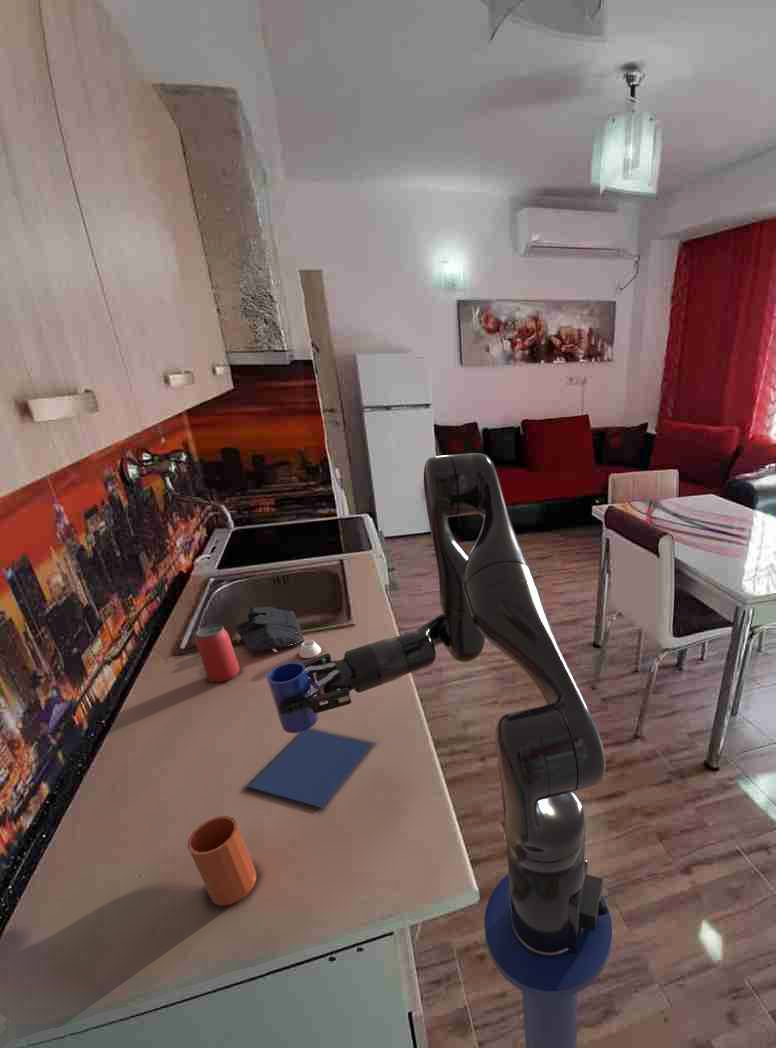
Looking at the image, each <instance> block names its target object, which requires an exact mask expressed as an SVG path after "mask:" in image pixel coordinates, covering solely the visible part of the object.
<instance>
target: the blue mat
mask: <svg viewBox="0 0 776 1048" xmlns="http://www.w3.org/2000/svg"><path fill="white" fill-rule="evenodd" d="M372 746H373V743H371V742H367V741H362V740H358V739H353V738H348V737H344V736H340V735H336V734H331V733H326V732H321V731H318V730H313V729H310V728H309V729H307V730H305V731H303V732H300V734H299V735H297V737H296V738H295V739H294V740H293V741H292V742H291V743H290V744H289V745H288V746H287V747H286V748H285V749H284V750H283V751H282V752H281V753H279V755H278V756H277V757H275V759H274V760H273V761H272V762H270V763H269V765H268V766H267V767H266V768H265V769H264V770H262V771H261V773H260V774H258V775H257V776H256V777H255V779H254V780H253V781H251V783H249V784H248V786H247V788H248V789H252V790H255V791H258V792H262V793H266V794H268V795H272V796H276V797H279V798H283V799H287V800H290V801H293V802H297V803H301V804H304V805H308V806H311V807H315V808H318V809H322V808H323V807H324V806H325V804H326V803H327V802H328V801H329V800H330V798H331V797H332V795H334V793H335V792H336V791H337V789H338V788H339V787H340V786H341V784H343V782H344V780H345V779H347V777H348V776H349V774H350V773H351V772H352V771H353V770H354V768H355V767H356V766H357V764H358V763H359V762H360V761H361V760H362V758H363V757H364V756H365V755H366V753H368V751H369V749H370V748H371V747H372Z"/></svg>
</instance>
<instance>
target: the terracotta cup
mask: <svg viewBox="0 0 776 1048" xmlns="http://www.w3.org/2000/svg"><path fill="white" fill-rule="evenodd" d="M186 847H187V850H188V852H189V854H190V857H191V859H192V861H193V863H194V865H195V868H196V869H197V872H198V874H199V876H200V878H201V881H202V883H203V885H204V887H205V889H206V891H207V893H208V895H209V898H210V899H211V901H212V903H214V904H215V905H217V906H229V905H233V904H235V903H237V902H239V901H241V900H242V899H243V898H245V897H246V896H247V895H248V894H249V893H250V892H251V891H252V889H253V888H254V886H255V884H256V881H257V871H256V867H255V865H254V863H253V860H252V858H251V855H250V852H249V850H248V847H247V845H246V842H245V839H244V837H243V834H242V832H241V828H240V827H239V823H238V822H237V821H236V819H235V818H234V817H232V816H228V815H222V816H216V817H213V818H210V819H207V820H206V821H205V822H203V823H202V824H200V825H199V826H198V827H197V828H195V830H193V832H192V833H191V834H190V836H189V838H188V840H187V846H186Z"/></svg>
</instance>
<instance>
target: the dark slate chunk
mask: <svg viewBox="0 0 776 1048" xmlns="http://www.w3.org/2000/svg"><path fill="white" fill-rule="evenodd" d="M248 611H249V612H248V613H247V618H248V620H246V621H243V622H241V623H238V624H235V629H236V631H237V633H238V635H239V637H240V639H241V641H242V642H243V643H244V645H245V646H246V649H247V650H248V651H249V652H250V653H251V654H258V653H262V652H267V651H271V650H270V649H272V650H275V649H281V648H280V647H283V648H288V647H294V646H296V645H300V644H302V643H303V642H305V640H304V638H305V637H304V636H303V632H302V628H301V626H300V624H299V619H298V618H297V615H296V613H295V612H294V611H293V610H287V609H286V610H282V609H278V608H277V607H272V606H260V607H257V606H253V607H250V608H249V610H248ZM295 630H298V634H299V636H300V638H301V639H302V641H300V640H301V639H299V637H298V636H297V635H294V634H293V633H294V632H295ZM298 641H300V642H298ZM297 642H298V643H297ZM295 643H296V644H295ZM290 644H293V645H290ZM288 645H289V646H288ZM285 646H287V647H285ZM283 648H282V649H283ZM266 650H267V651H266ZM261 651H262V652H261ZM257 652H258V653H257Z"/></svg>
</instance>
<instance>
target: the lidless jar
mask: <svg viewBox="0 0 776 1048" xmlns="http://www.w3.org/2000/svg"><path fill="white" fill-rule="evenodd" d="M320 653H322V648H321V647H320V645H318V643H317V642H315V640H313V639H309V640H304V641H303V642H302V643H301V646H300V648H299V653H298V655H299V657H300V658H302V659H309V658H315V657H316V656H319V654H320Z"/></svg>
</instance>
